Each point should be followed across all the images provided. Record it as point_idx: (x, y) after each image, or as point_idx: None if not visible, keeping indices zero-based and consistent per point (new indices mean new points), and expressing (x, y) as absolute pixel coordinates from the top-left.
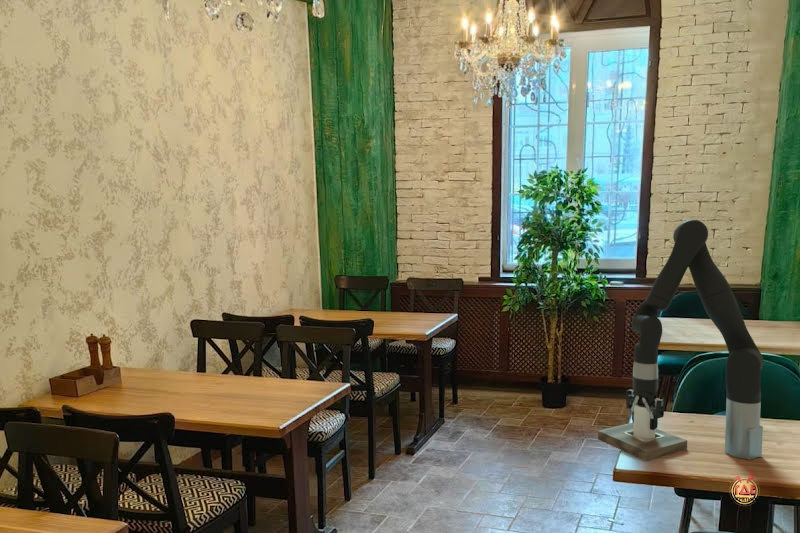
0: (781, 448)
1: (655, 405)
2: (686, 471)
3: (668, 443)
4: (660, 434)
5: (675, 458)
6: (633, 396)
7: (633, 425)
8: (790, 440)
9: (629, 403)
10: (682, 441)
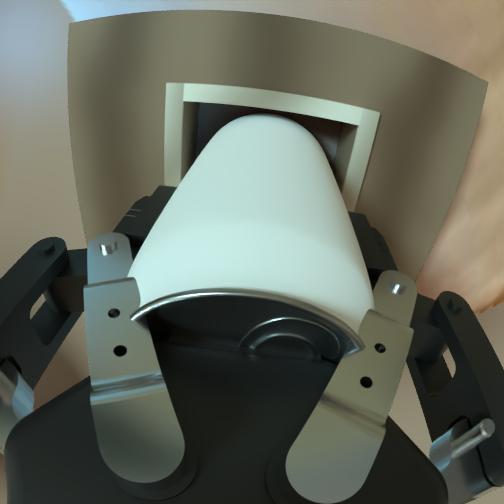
0: None
1: (398, 375)
2: (494, 282)
3: (432, 202)
4: (337, 103)
5: (453, 213)
6: (17, 371)
7: (104, 98)
8: None
9: (63, 337)
10: (476, 115)
